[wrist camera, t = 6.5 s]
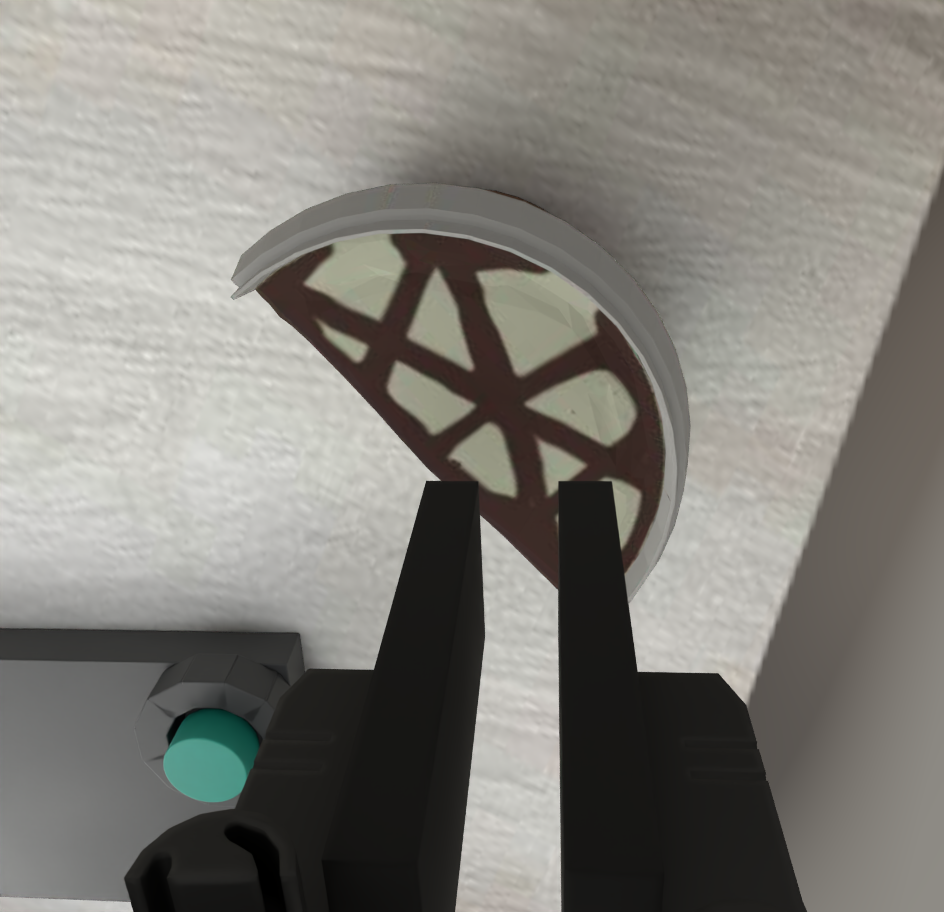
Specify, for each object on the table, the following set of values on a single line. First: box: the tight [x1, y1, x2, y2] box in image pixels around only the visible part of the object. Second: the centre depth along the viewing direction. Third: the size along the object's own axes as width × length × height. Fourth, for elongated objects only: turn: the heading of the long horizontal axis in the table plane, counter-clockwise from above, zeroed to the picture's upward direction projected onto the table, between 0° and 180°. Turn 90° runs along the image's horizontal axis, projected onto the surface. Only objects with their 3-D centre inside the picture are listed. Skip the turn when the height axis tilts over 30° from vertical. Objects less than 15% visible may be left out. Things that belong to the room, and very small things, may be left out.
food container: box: [231, 183, 690, 604], centre depth 23 cm, size 12×6×10 cm, turn 43°
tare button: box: [163, 708, 259, 802], centre depth 32 cm, size 3×3×2 cm
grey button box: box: [0, 629, 305, 902], centre depth 36 cm, size 16×13×4 cm
